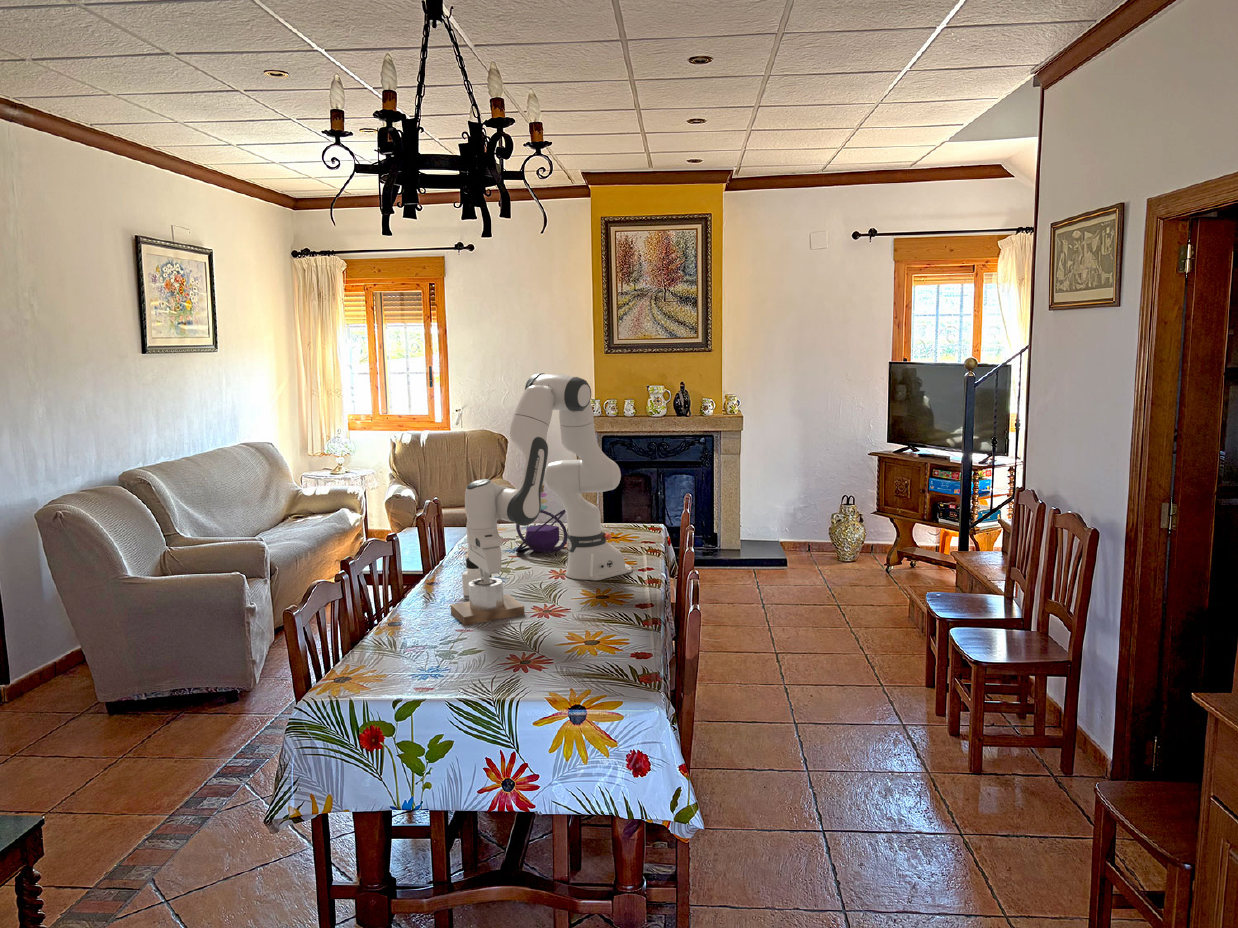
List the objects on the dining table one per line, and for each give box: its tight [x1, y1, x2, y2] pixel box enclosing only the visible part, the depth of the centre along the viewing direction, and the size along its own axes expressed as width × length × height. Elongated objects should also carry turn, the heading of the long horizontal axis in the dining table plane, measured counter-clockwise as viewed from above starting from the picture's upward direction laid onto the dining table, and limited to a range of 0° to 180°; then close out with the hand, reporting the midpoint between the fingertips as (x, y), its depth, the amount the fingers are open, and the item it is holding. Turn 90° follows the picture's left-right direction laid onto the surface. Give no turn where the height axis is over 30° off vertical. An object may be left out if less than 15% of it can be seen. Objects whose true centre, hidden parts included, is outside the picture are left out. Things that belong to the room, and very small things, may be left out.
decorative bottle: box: [515, 484, 568, 554], centre depth 331 cm, size 22×21×25 cm
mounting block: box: [450, 594, 526, 627], centre depth 259 cm, size 18×14×2 cm
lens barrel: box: [468, 577, 504, 611], centre depth 259 cm, size 10×10×7 cm
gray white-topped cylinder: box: [477, 580, 494, 586], centre depth 258 cm, size 5×5×6 cm
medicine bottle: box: [461, 556, 492, 597], centre depth 280 cm, size 7×7×12 cm
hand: (485, 582), depth 258 cm, fingers closed, pressing on gray white-topped cylinder
